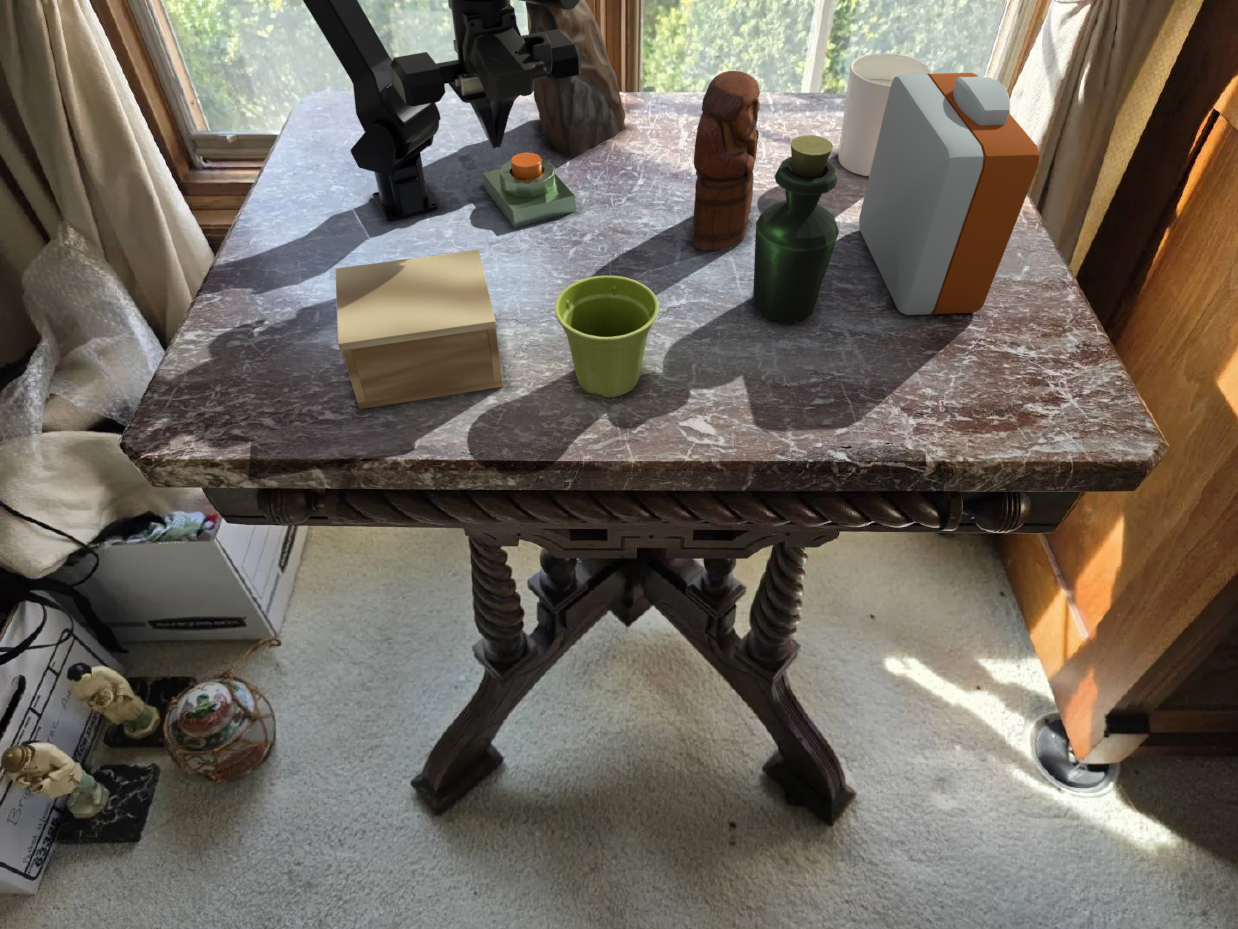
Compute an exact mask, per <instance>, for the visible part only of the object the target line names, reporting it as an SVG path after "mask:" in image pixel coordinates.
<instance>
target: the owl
mask: <svg viewBox="0 0 1238 929" xmlns="http://www.w3.org/2000/svg"><path fill="white" fill-rule="evenodd" d="M525 8H526V11H527V13H528V17H529V21H530V28H529V34H533V33H539V32H545V31H550V30H556V29H558V30H559V31H560V32H562V33H563V34H564V35H565V36H566V37H567V38H568V39H569V40H570V41H571V42H573V43H574V44H575V45H576V46H577V47H578V48H579V51H580V54H581V73H580V74H579V75H576V76H570V77H565V78H560V79H555V78H554V77H553V76H552V75H550V74H549V73H547V77H545V78H540V79H535V80H534V91H533V99H534V103H535V105H536V109H537V111H538V117H539V120H540V123H538V126H537V127H538V129H539V130H541V131H542V133H541V134H540V136H541V137H542V138H544V140H545V142H544V143H543V145H544V146H546V147H548V149H550V150H552V151H556V152H560V153H561V154H564V155H566V156H567V157H568V158H574V157H575V158H576V157H578V156H582V155H583V154H586V153H587V151H589V150H590V149H593V148H596V147H598V145H599V144H602V143H603V142H605V141H608V140H611V139H613V138H615V137H616V136H617V135H618V134H619V133H621V132H623V131H624V130H626V129H627V127H626V122H625V120H626V112H625V110H624V107H623V102H622V97H621V93H620V88H619V81H618V78H617V74H616V72H615V70H614V68H613V67H612V63H611V61H610V58H609V54H608V51H607V48H606V45H605V42H604V38H603V35H602V32H601V28H600V25H599V24H598V22H597V20H596V18H595V14H594V13H593V11H592V10H591V8H590V6H589V5H588V3H587V1H586V0H579V2H578V4H577V5H576V6H575V7H574V8H573V9H571V10H566V9H561V8H556V7H550V6H545V5H540V4H535V3H530V2H525Z"/></svg>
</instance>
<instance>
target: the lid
mask: <svg viewBox="0 0 1238 929" xmlns="http://www.w3.org/2000/svg"><path fill="white" fill-rule="evenodd" d="M335 296H336V297H335V298H336V299H335V300H336V321H337V322H336V325H337V326H336V328H337V345H338V346H337V347H338V349H339V351H340V352H342V351H343V350H350V349H357V348H364V347H371V346H378V345H384V344H391V343H398V342H405V341H412V340H419V339H425V338H432V337H439V336H446V335H453V334H460V333H466V332H473V331H480V330H487V329H494V328H496V329H497V321H496V317H495V313H494V308H493V305H492V301H491V296H490V292H489V287H488V282H487V279H486V275H485V270H484V266H483V261H482V257H481V252H480V250H479V249H474V250H466V251H458V252H450V253H442V254H436V255H427V256H421V257H413V258H404V259H397V260H390V261H381V262H373V263H367V264H359V265H358V264H357V265H352V266H345V267H344V266H343V267H337V268H335Z"/></svg>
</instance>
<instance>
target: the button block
mask: <svg viewBox="0 0 1238 929" xmlns="http://www.w3.org/2000/svg"><path fill="white" fill-rule="evenodd" d="M541 162H542V175H540V176H539V177H537V178H532V179H519V178H516V177H514V176H513V174H512V164H511V159H509V160H508V161H507V162H505V163H504V164H502V165H501V167H500V168H498V169H494V170H489V171H486V172H482V177H483V185H484V189H485V191H486V192H487V194H488V195H489V196H490V198H491V199H492V200H493V201H494V202H495V204H496V206H498V208H499V209H500V210H501V212H502V213H503V214H504V216H505V217H506V218H507V219H508V221H509V222H510V224H511V225H512V226H513V227H514V228H517V227H522V226H525V225H529V224H532V223H537V222H540V221H541V222H542V221H544V220H547V219H551V218H556V217H561V216H564V215H567V214H571V213H575V212H576V195H575V194H574V192H572V190H571V189H570V188H569V187H568V186H567V185H566V184H565V183H564V181H563V180H561V179H560V177H559V176H558V174H556V169H555V167H554V166H553V164H552V163H551V162H550V161H548V160H546V159H543V158H541Z"/></svg>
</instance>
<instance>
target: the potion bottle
mask: <svg viewBox="0 0 1238 929" xmlns="http://www.w3.org/2000/svg"><path fill="white" fill-rule="evenodd" d="M833 148H834V145H833V143H832V141H830V140H828V138H825V137H822V136H818V135H814V134H803V135H799V136H796V137H795V138H793V139H792V140H791V142H790V154H791V156H788V157H787V158H785V159H784V160H782V161H781V163H780V164H779V166H778V169H777V171H776V173H775V174H774V180H775V183H776V184H777V185H778V186H780V188H781V189H783V190H784V192H785V193H784V194H785V199H784V200H781V201H777V202H776V201H775V202H773V203H772V204H770V205H769V206H766V208H765V209H764V210H763V211H762V212H761V213H760V214H759V217H758V219H757V220H756V223H755V236H754V237H755V238H754V239H755V240H754V241H755V242H754V263H753V264H754V266H753V290H752V293H753V294H752V300H753V302H752V303H753V307H754V308H755V309H756V310H757V311H758V312H759V314H760V315H761V316H763V317H764V318H767V319H768V320H770V321H773V322H777V323H782V324H784V323H785V324H786V323H790V324H791V323H797V322H800V321H803V320H805V319H807V318H808V317H809V316H811V315H812V314H813V312H814V309H815V308H816V304H817V302H818V299H819V296H820V292H821V289H822V286H823V283H824V279H825V276H826V273H827V270H828V268H829V264H830V262H831V258H832V254H833V253H834V252H833V251H834V248H835V246H836V242H837V239H838V236H839V232H840V230H839V228H838V225H837V221H836V219H835V216H834V214H833V213H832V212H831V211H830V210H829V209H827V207H825V206H822V205H820V204H819V201H820V199H821V197H822V195H824V194H827V193H830V192H831V191H833V190H834V189H836V187H837V184H838V175H837V170H836V167H835V165H834V164H833V163H832V162H830V161H829V158H830V155H831V153H832V151H833Z"/></svg>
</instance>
